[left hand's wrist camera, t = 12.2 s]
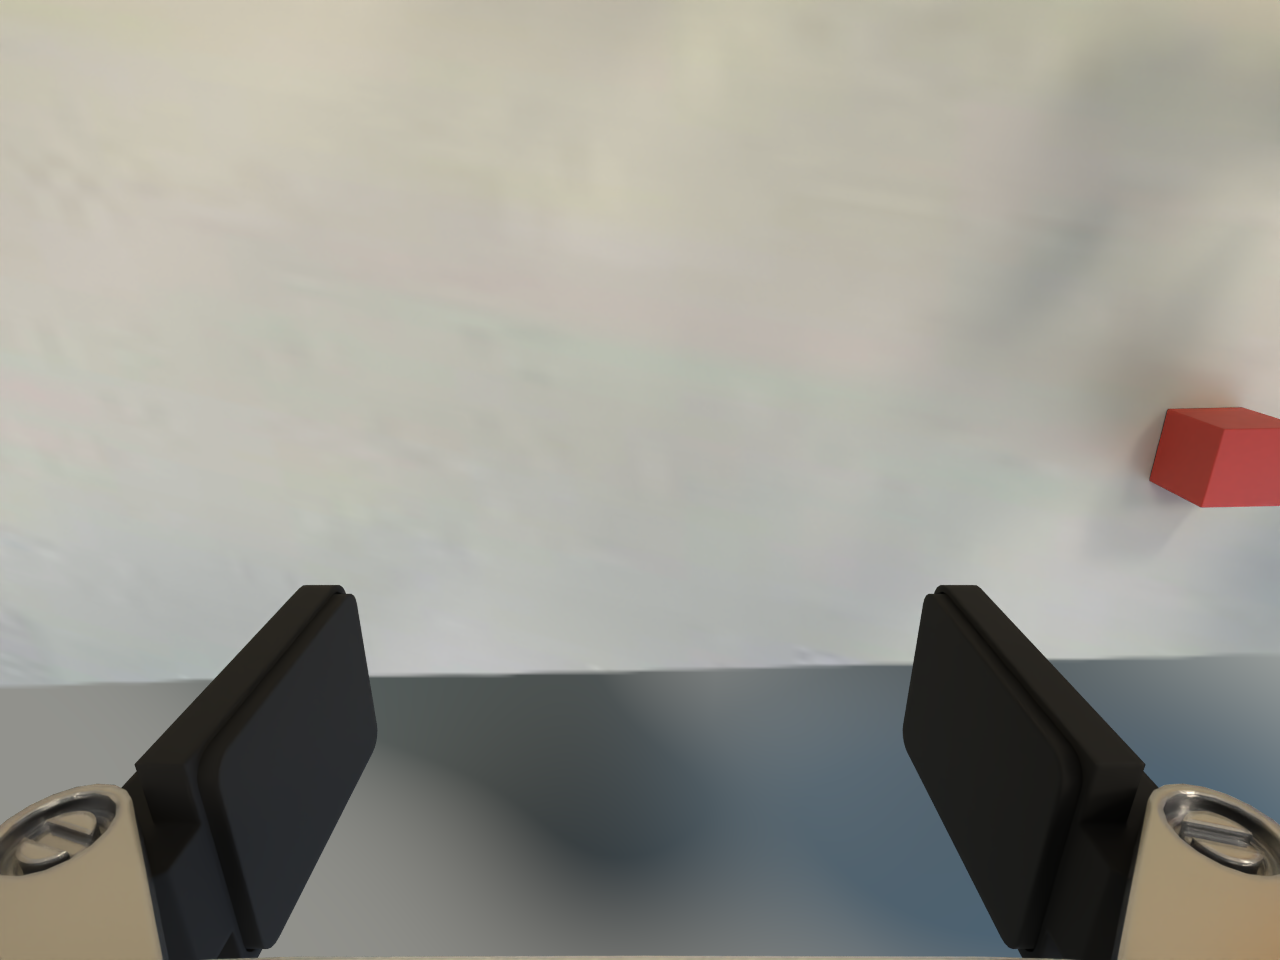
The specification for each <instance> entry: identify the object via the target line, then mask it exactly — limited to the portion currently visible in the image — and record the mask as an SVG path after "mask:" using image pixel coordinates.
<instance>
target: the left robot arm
mask: <svg viewBox="0 0 1280 960" xmlns="http://www.w3.org/2000/svg"><path fill="white" fill-rule="evenodd" d="M376 739H377V723H376V717H375V711H374V705H373V699H372V693H371V687H370V681H369V675H368V669H367V662H366V656H365V650H364V644H363V638H362V632H361V626H360V620H359V614H358V608H357V603H356V599H355V597H354V595H352V594H346V593H345V590H344V589H343V587H341V586H340V585H303V586H302V587H301V588H299V589H298V590H297V591H296V592H295V594H294V595H293V596H292V597H291V598H290V599H289V600H288V601H287V602H286V603H285V604H284V605H283V606H282V607H281V608H280V610H279V611H278V612H277V613H276V614H275V615H274V616H273V617H272V618H271V619H270V620H269V621H268V622H267V623H266V624H265V626H264V627H263V628H262V629H261V630H260V631H259V632H258V633H257V634H256V635H255V636H254V637H253V638H252V639H251V641H250V642H249V643H248V644H247V645H246V646H245V647H244V648H243V649H242V650H241V651H240V652H239V653H238V654H237V655H236V657H235V658H234V659H233V660H232V661H231V662H230V663H229V664H228V665H227V666H226V667H225V668H224V669H223V670H222V671H221V673H220V674H219V675H218V676H217V677H216V678H215V679H214V680H213V681H212V682H211V683H210V684H209V685H208V686H207V688H206V689H205V690H204V691H203V692H202V693H201V694H200V695H199V696H198V697H197V698H196V699H195V700H194V701H193V703H192V704H191V705H190V706H189V707H188V708H187V709H186V710H185V711H184V712H183V713H182V714H181V715H180V716H179V717H178V718H177V720H176V721H175V722H174V723H173V724H172V725H171V726H170V727H169V728H168V729H167V730H166V731H165V732H164V733H163V735H162V736H161V737H160V738H159V739H158V740H157V741H156V742H155V743H154V744H153V745H152V746H151V747H150V748H149V749H148V751H147V752H146V753H145V754H144V755H143V756H142V757H141V758H140V759H139V760H138V761H137V762H136V763H135V767H136V770H137V771H136V773H135V774H134V775H133V776H132V777H131V778H130V779H129V780H128V781H127V782H126V783H125V785H124V786H123V787H122V788H120V787H118V786H116V785H109V784H93V785H86V786H80V787H75V788H72V789H68V790H65V791H62V792H59V793H56V794H53V795H51V796H49V797H47V798H44V799H42V800H40V801H38V802H36V803H34V804H32V805H30V806H28V807H26V808H25V809H23V810H22V811H20V812H18V813H17V814H15V815H14V816H12V817H10V818H9V819H7V820H6V821H5V822H4V823H3V824H1V825H0V960H1280V825H1279V824H1277V823H1276V822H1275V821H1274V820H1273V819H1271V818H1270V817H1268V816H1266V815H1265V814H1263V813H1262V812H1260V811H1258V810H1257V809H1255V808H1254V807H1252V806H1251V805H1248V804H1246V803H1244V802H1242V801H1240V800H1238V799H1236V798H1233V797H1231V796H1229V795H1227V794H1224V793H1221V792H1218V791H1215V790H1212V789H1208V788H1205V787H1201V786H1194V785H1188V784H1171V785H1164V786H1162V787H1160V788H1158V787H1157V786H1156V784H1155V783H1154V782H1153V781H1152V780H1151V779H1150V778H1149V777H1148V776H1147V775H1146V774H1145V773H1144V771H1143V770H1144V767H1145V763H1144V762H1143V761H1142V760H1141V759H1140V758H1139V757H1138V756H1137V755H1136V754H1135V753H1134V752H1133V751H1132V749H1131V748H1130V747H1129V746H1128V745H1127V744H1126V743H1125V742H1124V741H1123V740H1122V739H1121V738H1120V737H1119V736H1118V735H1117V733H1116V732H1115V731H1114V730H1113V729H1112V728H1111V727H1110V726H1109V725H1108V724H1107V723H1106V722H1105V721H1104V720H1103V718H1102V717H1101V716H1100V715H1099V714H1098V713H1097V712H1096V711H1095V710H1094V709H1093V708H1092V707H1091V706H1090V705H1089V704H1088V702H1087V701H1086V700H1085V699H1084V698H1083V697H1082V696H1081V695H1080V694H1079V693H1078V692H1077V691H1076V690H1075V689H1074V688H1073V686H1072V685H1071V684H1070V683H1069V682H1068V681H1067V680H1066V679H1065V678H1064V677H1063V676H1062V675H1061V674H1060V673H1059V672H1058V670H1057V669H1056V668H1055V667H1054V666H1053V665H1052V664H1051V663H1050V662H1049V661H1048V660H1047V659H1046V658H1045V657H1044V655H1043V654H1042V653H1041V652H1040V651H1039V650H1038V649H1037V648H1036V647H1035V646H1034V645H1033V644H1032V643H1031V642H1030V641H1029V639H1028V638H1027V637H1026V636H1025V635H1024V634H1023V633H1022V632H1021V631H1020V630H1019V629H1018V628H1017V627H1016V626H1015V624H1014V623H1013V622H1012V621H1011V620H1010V619H1009V618H1008V617H1007V616H1006V615H1005V614H1004V613H1003V612H1002V611H1001V610H1000V608H999V607H998V606H997V605H996V604H995V603H994V602H993V601H992V600H991V599H990V598H989V597H988V596H987V595H986V594H985V592H984V591H983V590H982V589H981V588H979V587H978V586H977V585H940V586H939V587H937V589H936V590H935V593H934V594H928V595H926V597H925V599H924V603H923V608H922V614H921V620H920V626H919V632H918V638H917V644H916V650H915V656H914V662H913V669H912V675H911V681H910V687H909V693H908V699H907V705H906V711H905V717H904V723H903V739H904V744H905V748H906V750H907V753H908V755H909V757H910V758H911V761H912V763H913V764H914V766H915V768H916V770H917V772H918V774H919V776H920V778H921V780H922V782H923V784H924V786H925V788H926V790H927V792H928V794H929V796H930V798H931V800H932V802H933V804H934V806H935V808H936V810H937V812H938V814H939V816H940V818H941V820H942V822H943V824H944V826H945V828H946V830H947V832H948V833H949V836H950V837H951V839H952V841H953V843H954V845H955V847H956V849H957V851H958V853H959V855H960V857H961V859H962V861H963V863H964V865H965V867H966V869H967V871H968V873H969V875H970V877H971V879H972V881H973V883H974V885H975V887H976V889H977V891H978V893H979V895H980V897H981V899H982V901H983V903H984V905H985V907H986V909H987V911H988V912H989V914H990V916H991V918H992V920H993V922H994V924H995V926H996V928H997V930H998V932H999V934H1000V936H1001V938H1002V940H1003V941H1004V943H1005V944H1006V945H1007V946H1008V947H1009V948H1012V949H1018V950H1019V952H1020V954H1021V956H1022V958H1006V957H872V956H867V957H866V956H416V957H415V956H410V957H409V956H408V957H406V956H405V957H273V958H258V956H259V954H260V952H261V950H262V949H268V948H271V947H272V946H273V945H274V944H275V943H276V941H277V940H278V938H279V936H280V934H281V932H282V930H283V928H284V926H285V924H286V922H287V920H288V918H289V917H290V914H291V913H292V910H293V909H294V907H295V905H296V903H297V901H298V899H299V897H300V895H301V893H302V891H303V889H304V887H305V885H306V883H307V881H308V879H309V877H310V875H311V873H312V871H313V869H314V867H315V865H316V863H317V861H318V859H319V857H320V855H321V853H322V851H323V849H324V847H325V845H326V843H327V841H328V840H329V838H330V836H331V834H332V831H333V830H334V828H335V826H336V824H337V822H338V820H339V818H340V816H341V814H342V812H343V810H344V808H345V806H346V804H347V802H348V800H349V798H350V796H351V794H352V792H353V790H354V788H355V786H356V784H357V782H358V780H359V778H360V776H361V774H362V772H363V770H364V768H365V766H366V764H367V763H368V761H369V759H370V757H371V755H372V753H373V750H374V748H375V744H376Z"/></svg>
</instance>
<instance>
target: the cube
mask: <svg viewBox="0 0 1280 960" xmlns="http://www.w3.org/2000/svg"><path fill="white" fill-rule="evenodd" d="M1150 481H1151V482H1153V483H1155V484H1157V485H1159V486H1161V487H1162V488H1164V489H1166V490H1168V491H1170V492H1172V493H1174V494H1176V495H1178V496H1180V497H1182V498H1184V499H1186V500H1188V501H1190V502H1192V503H1193V504H1195V505H1197V506H1199V507H1249V506H1280V419H1277V418H1274V417H1271V416H1268V415H1265V414H1261V413H1258V412H1255V411H1252V410H1249V409H1245V408H1242V407H1238V408H1191V409H1168V411H1167V415H1166V418H1165V422H1164V426H1163V430H1162V434H1161V438H1160V441H1159V445H1158V449H1157V453H1156V457H1155V461H1154V465H1153V468H1152V472H1151V476H1150Z"/></svg>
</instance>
